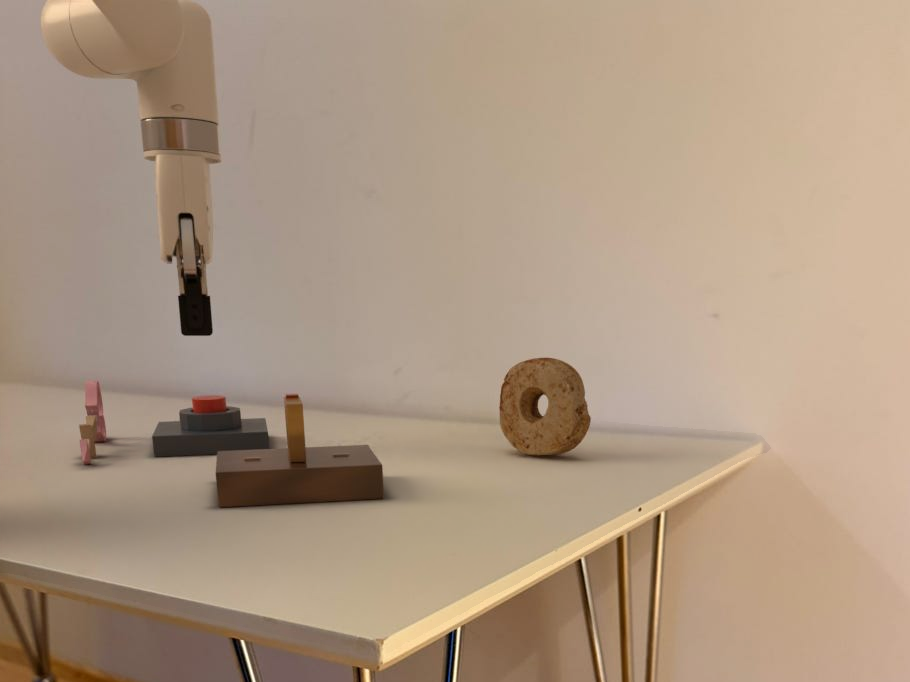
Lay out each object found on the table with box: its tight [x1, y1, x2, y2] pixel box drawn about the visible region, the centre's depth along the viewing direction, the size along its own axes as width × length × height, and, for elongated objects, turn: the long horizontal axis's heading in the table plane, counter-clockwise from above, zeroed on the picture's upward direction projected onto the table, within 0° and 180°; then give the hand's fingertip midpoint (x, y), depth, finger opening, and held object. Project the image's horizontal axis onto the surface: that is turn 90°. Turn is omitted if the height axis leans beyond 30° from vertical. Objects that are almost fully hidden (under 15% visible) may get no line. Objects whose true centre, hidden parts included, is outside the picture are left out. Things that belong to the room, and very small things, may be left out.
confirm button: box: [191, 394, 227, 413], centre depth 108 cm, size 4×4×2 cm
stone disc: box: [498, 357, 592, 456], centre depth 103 cm, size 10×4×10 cm, turn 52°
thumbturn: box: [283, 393, 307, 462], centre depth 87 cm, size 5×1×5 cm, turn 13°
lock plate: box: [215, 444, 385, 508], centre depth 88 cm, size 14×10×3 cm
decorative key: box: [78, 380, 107, 465], centre depth 106 cm, size 7×1×20 cm
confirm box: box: [151, 405, 270, 458], centre depth 109 cm, size 12×10×4 cm
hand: (197, 334), depth 105 cm, fingers closed
